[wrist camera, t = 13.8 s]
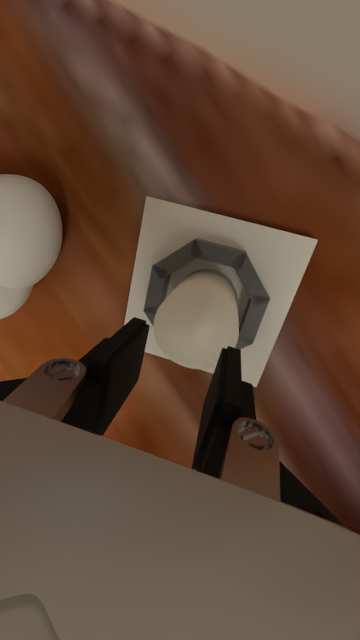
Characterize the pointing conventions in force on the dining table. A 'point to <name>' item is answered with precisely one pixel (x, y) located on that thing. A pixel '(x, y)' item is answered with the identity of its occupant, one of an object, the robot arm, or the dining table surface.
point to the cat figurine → (25, 238)
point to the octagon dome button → (226, 257)
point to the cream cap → (198, 319)
